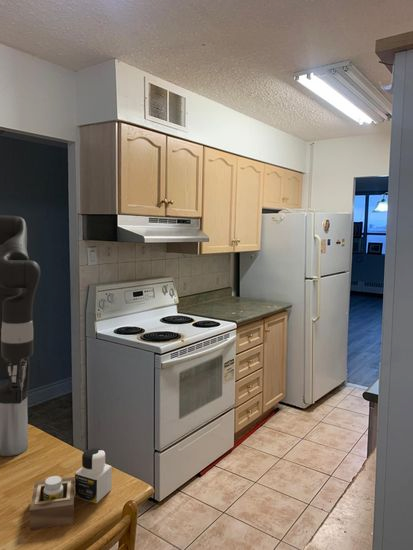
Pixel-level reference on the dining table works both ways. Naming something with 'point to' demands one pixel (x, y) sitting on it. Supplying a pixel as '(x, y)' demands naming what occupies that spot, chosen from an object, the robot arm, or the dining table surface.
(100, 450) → the medicine bottle
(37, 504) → the socket block
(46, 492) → the supplement bottle
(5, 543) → the dining table surface
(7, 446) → the robot arm
